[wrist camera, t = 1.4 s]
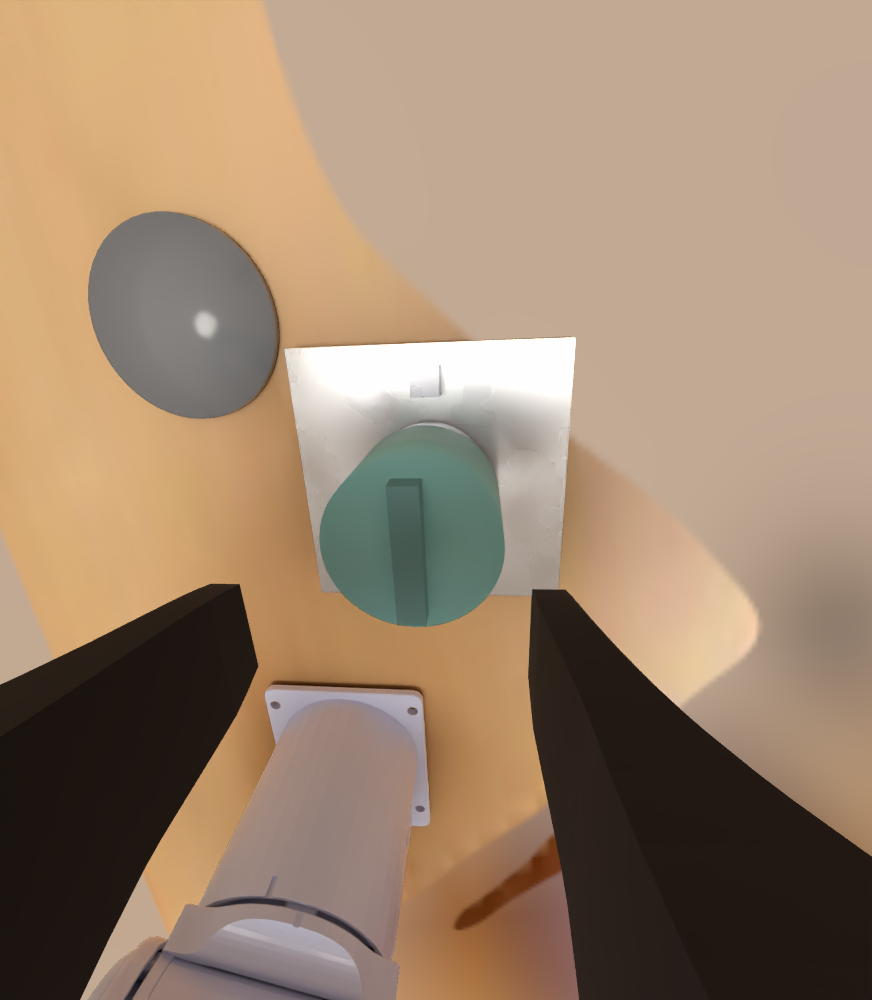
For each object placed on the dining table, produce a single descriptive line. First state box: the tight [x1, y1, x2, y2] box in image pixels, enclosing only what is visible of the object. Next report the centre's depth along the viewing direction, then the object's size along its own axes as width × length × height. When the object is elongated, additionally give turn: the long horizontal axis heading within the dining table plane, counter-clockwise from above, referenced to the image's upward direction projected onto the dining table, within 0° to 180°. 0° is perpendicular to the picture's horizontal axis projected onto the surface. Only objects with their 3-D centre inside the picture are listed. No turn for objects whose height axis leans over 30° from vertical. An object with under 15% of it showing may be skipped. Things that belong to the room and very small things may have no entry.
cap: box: [319, 425, 505, 627], centre depth 14 cm, size 5×5×5 cm
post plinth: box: [284, 337, 576, 596], centre depth 17 cm, size 10×10×2 cm
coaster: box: [88, 212, 279, 419], centre depth 17 cm, size 7×7×1 cm
